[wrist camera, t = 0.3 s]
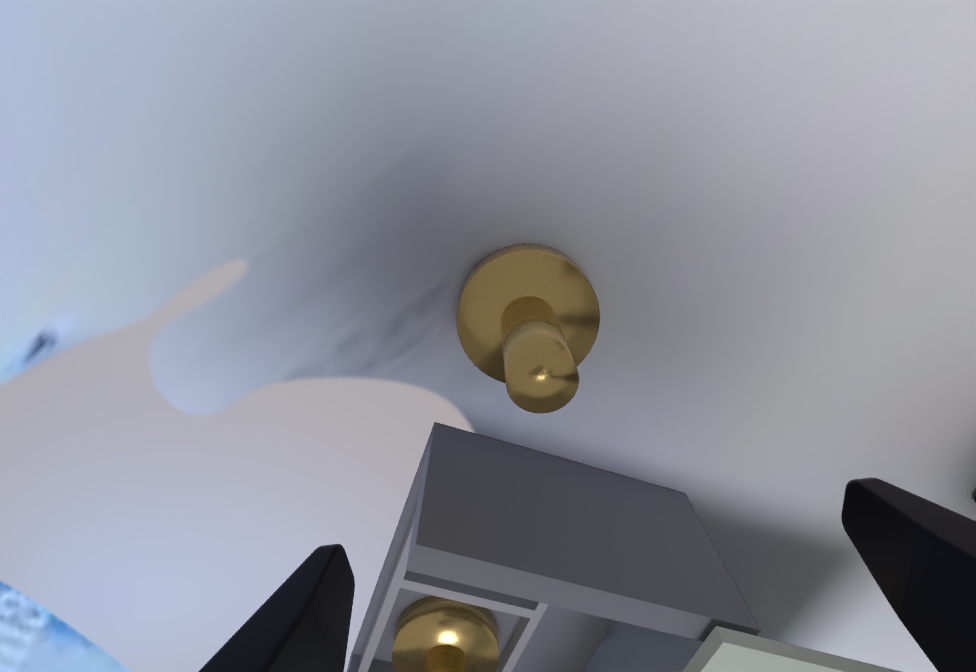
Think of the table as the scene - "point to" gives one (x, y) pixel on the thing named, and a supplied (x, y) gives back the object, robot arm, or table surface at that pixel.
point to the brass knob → (445, 637)
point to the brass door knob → (529, 323)
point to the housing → (546, 556)
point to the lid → (766, 656)
